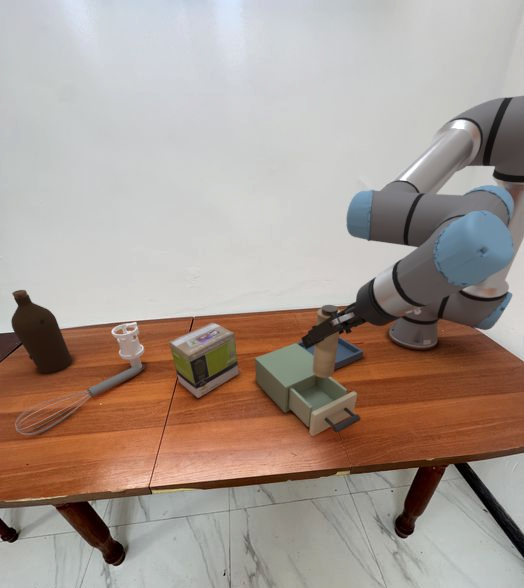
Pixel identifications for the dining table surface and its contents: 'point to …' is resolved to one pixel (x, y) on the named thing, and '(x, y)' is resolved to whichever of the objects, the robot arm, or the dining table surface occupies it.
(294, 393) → the drawer
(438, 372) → the dining table surface
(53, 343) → the olive oil
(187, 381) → the tea box
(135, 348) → the strainer
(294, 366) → the cabinet
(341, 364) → the tray
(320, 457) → the dining table surface
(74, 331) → the dining table surface
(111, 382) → the kitchen whisk
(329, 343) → the pepper mill
